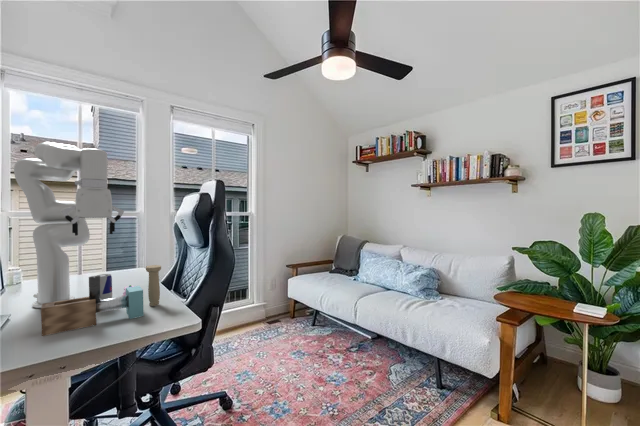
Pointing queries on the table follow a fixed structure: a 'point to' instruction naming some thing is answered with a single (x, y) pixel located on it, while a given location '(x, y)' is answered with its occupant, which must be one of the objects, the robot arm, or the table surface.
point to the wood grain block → (67, 315)
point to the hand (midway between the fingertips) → (94, 234)
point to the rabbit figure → (125, 290)
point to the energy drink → (106, 286)
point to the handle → (153, 284)
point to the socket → (135, 302)
